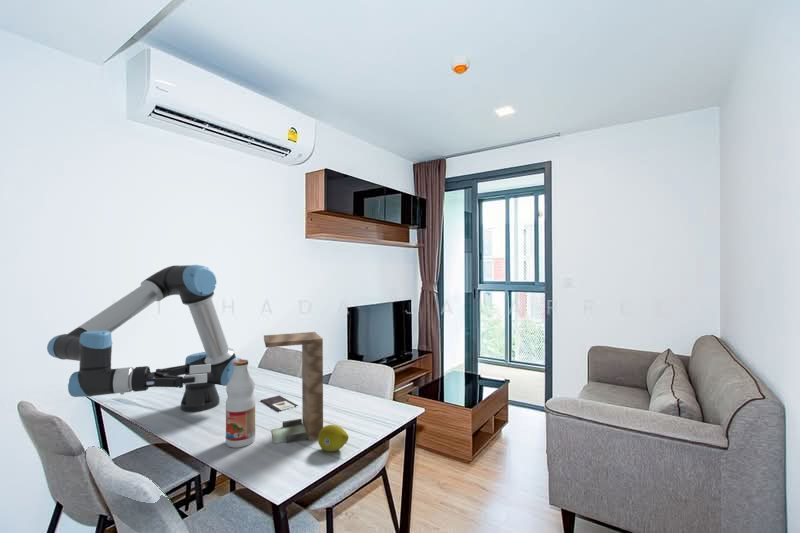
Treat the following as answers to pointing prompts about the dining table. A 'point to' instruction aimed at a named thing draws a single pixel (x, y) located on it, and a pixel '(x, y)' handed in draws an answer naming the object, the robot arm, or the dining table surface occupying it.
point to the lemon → (332, 438)
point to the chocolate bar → (278, 403)
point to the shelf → (303, 387)
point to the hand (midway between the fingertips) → (209, 372)
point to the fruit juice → (240, 407)
